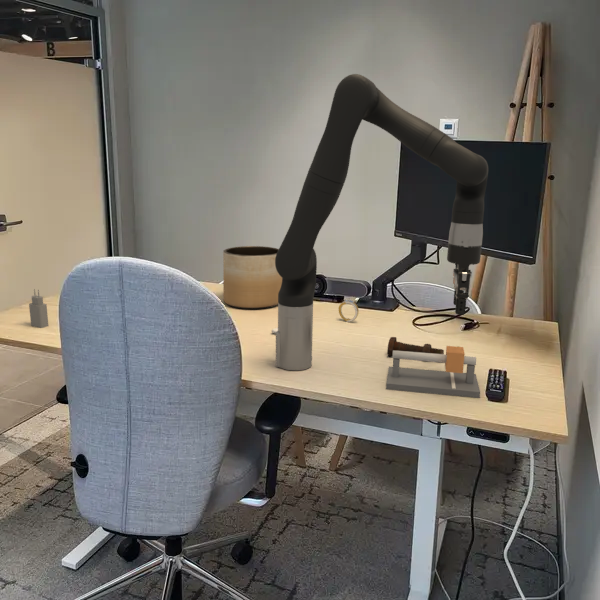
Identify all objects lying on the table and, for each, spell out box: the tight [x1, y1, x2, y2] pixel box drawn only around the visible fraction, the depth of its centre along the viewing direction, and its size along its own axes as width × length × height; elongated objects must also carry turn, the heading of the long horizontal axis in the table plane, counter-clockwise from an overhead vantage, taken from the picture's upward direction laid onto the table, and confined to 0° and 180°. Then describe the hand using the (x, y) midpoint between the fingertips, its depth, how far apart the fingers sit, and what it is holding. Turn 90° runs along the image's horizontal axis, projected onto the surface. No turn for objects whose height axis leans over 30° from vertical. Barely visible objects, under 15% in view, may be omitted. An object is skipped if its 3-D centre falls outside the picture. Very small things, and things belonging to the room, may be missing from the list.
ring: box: [338, 298, 359, 323], centre depth 197 cm, size 7×3×8 cm, turn 53°
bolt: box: [386, 336, 445, 358], centre depth 164 cm, size 6×5×15 cm
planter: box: [222, 245, 282, 310], centre depth 218 cm, size 22×22×20 cm
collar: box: [444, 345, 466, 373], centre depth 143 cm, size 4×5×5 cm
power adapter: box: [28, 288, 49, 329], centre depth 186 cm, size 3×5×12 cm, turn 61°
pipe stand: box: [385, 350, 481, 399], centre depth 145 cm, size 22×12×8 cm, turn 79°
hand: (458, 309), depth 140 cm, fingers open, 8 cm apart
